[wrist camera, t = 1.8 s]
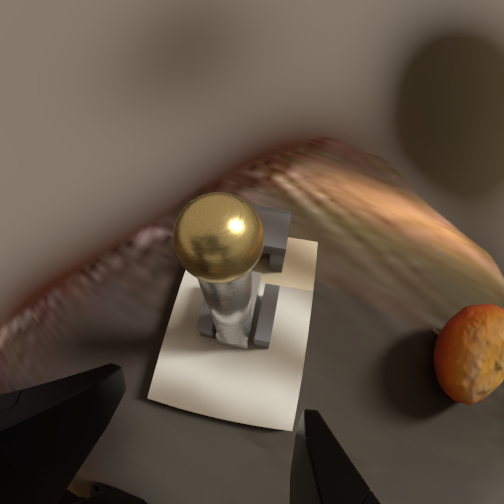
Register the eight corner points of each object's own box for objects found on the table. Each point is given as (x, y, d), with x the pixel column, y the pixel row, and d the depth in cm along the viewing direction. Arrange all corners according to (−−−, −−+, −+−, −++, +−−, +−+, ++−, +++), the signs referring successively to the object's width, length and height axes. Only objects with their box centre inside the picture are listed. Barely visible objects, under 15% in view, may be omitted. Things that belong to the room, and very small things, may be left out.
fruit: (479, 295, 21) (536, 306, 13) (466, 372, 21) (515, 400, 13) (416, 298, 21) (476, 314, 13) (403, 385, 21) (449, 426, 13)
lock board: (289, 429, 17) (300, 434, 13) (154, 399, 18) (128, 394, 14) (314, 251, 25) (326, 216, 21) (204, 233, 26) (196, 197, 22)
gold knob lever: (252, 360, 19) (255, 261, 7) (209, 351, 19) (148, 242, 8) (267, 286, 22) (283, 132, 10) (228, 279, 22) (207, 125, 11)
